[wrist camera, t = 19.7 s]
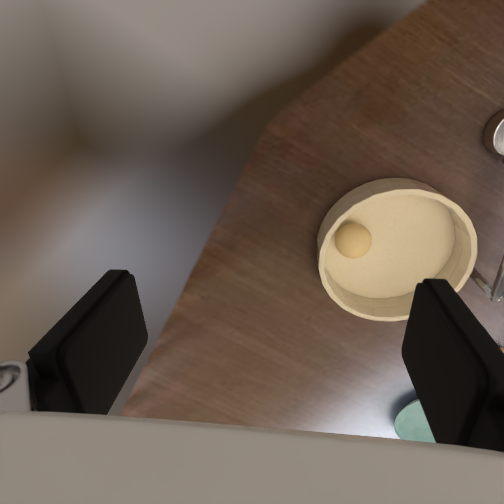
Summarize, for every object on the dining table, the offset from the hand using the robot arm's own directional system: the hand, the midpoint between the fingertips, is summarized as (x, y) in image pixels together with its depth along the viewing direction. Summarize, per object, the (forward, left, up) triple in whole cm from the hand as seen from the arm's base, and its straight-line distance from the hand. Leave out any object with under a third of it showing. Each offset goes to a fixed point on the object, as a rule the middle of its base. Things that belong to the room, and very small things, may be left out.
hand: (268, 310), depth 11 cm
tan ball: (+10, +9, -24) cm, 27 cm away
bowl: (+11, +12, -28) cm, 33 cm away
